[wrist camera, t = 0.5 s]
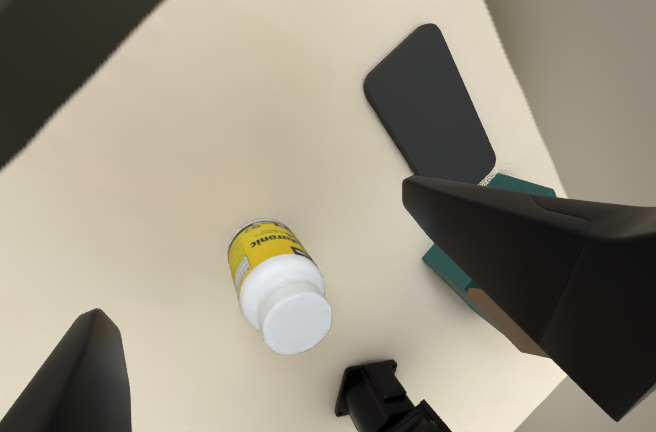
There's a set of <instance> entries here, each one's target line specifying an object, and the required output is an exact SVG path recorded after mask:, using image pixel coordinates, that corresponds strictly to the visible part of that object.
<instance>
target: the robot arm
mask: <svg viewBox="0 0 656 432" xmlns="http://www.w3.org/2000/svg"><path fill="white" fill-rule="evenodd" d="M402 201H403V205H404V207H405V208H406V210H407V211H408V212H409V213H410V214H411V216H412V217H413V218H414V219H415V221H416V222H417V223H418V224H419V226H420V227H421V228H422V229H423V230H424V232H425V233H426V234H427V235H428V236H429V238H430V239H431V240H432V241H433V242H434V243H435V244H436V245H437V246H438V247H439V248H440V249H441V250H442V251H443V252H444V253H445V254H446V255H447V256H448V257H449V258H450V259H451V260H452V261H453V262H454V263H455V264H456V265H457V266H458V267H459V268H460V269H461V270H462V271H463V272H464V273H465V274H466V275H467V276H468V277H469V278H470V279H471V280H472V281H473V282H474V283H475V284H476V285H477V286H478V287H479V288H480V289H481V290H482V291H483V292H484V293H485V294H486V295H487V296H488V297H489V298H490V299H491V300H493V301H494V302H495V303H496V304H497V305H498V306H499V307H500V308H501V309H502V310H503V311H504V312H505V313H506V314H507V315H508V316H509V317H510V318H511V319H512V320H513V321H514V322H515V323H516V324H517V325H518V326H519V327H520V328H521V329H522V330H523V331H524V332H525V333H526V334H527V335H528V336H529V337H530V338H531V339H532V340H533V341H534V342H535V343H536V344H537V345H539V347H540V348H541V349H542V350H543V351H544V352H545V353H546V354H547V355H548V356H549V357H550V358H551V359H552V360H553V361H554V362H555V363H556V364H557V365H558V366H559V367H560V368H561V369H562V370H563V371H564V372H565V373H566V374H567V375H568V376H569V377H570V378H571V379H572V380H573V381H574V382H575V383H576V384H577V385H578V386H579V387H580V388H581V389H582V390H583V391H584V392H585V393H586V394H587V395H588V396H589V397H590V398H591V399H593V401H594V402H595V403H596V404H597V405H598V406H600V407H601V408H602V409H603V410H604V411H605V412H606V413H607V414H608V415H609V416H610V417H611V418H612V419H613V420H615V421H616V422H619V421H620V420H621V419H622V418H623V417H624V416H626V415H627V414H628V413H629V412H630V411H631V410H632V409H634V408H635V407H636V406H637V405H638V404H639V403H641V402H642V401H643V400H644V399H645V398H646V397H648V396H649V395H650V394H651V393H652V392H653V391H654V390H656V207H638V206H628V205H619V204H610V203H599V202H591V201H582V200H573V199H565V198H558V197H551V196H544V195H538V194H532V193H531V194H529V193H525V192H519V191H512V190H506V189H500V188H493V187H487V186H481V185H475V184H468V183H462V182H456V181H449V180H443V179H437V178H430V177H424V176H418V175H413V176H411V177H408V178H406V179H404V180H403V182H402ZM396 368H397V363H396V362H395V361H394V360H391V361H385V362H379V363H373V364H367V365H361V366H355V367H349V368H347V369H346V370H345V373H344V377H343V381H342V385H341V389H340V392H339V396H338V400H337V404H336V408H335V414H336V416H337V417H340V416H345V415H350V417H351V419H352V421H353V423H354V425H355V427H356V429H357V431H358V432H452V431H451V430H450V429H449V428H448V427H447V425H446V424H445V423H444V422H443V421H442V420H441V418H440V417H439V416H438V415H437V414H436V412H435V411H434V410H433V409H432V408H431V407H430V405H429V404H428V403H427V402H426V401H425V400H424V399H423V400H422V401H421V402H420V404H418V405H417V406H416V407H415V406H414V405H413V403H412V402H411V400H410V399H409V398H408V396H407V395H406V393H407V392H406V391H405V389H404V388H403V386H402V385H401V384H400V382H399V381H398V379H397V378H396V377H395V375H394V374H395V371H396ZM0 432H132V426H131V398H130V386H129V379H128V374H127V368H126V362H125V356H124V350H123V345H122V339H121V334H120V331H119V329H118V327H117V326H116V325H115V324H114V323H113V322H112V320H111V319H110V318H109V317H108V316H107V315H106V314H105V313H104V312H103V311H102V310H101V309H98V308H96V309H93V310H91V311H88V312H86V313H84V314H81V315H80V316H79V317H78V318H77V319H76V320H75V322H74V323H73V324H72V326H71V327H70V328H69V330H68V331H67V332H66V334H65V335H64V337H63V338H62V339H61V341H60V342H59V343H58V345H57V346H56V347H55V349H54V350H53V351H52V353H51V354H50V355H49V357H48V358H47V359H46V361H45V362H44V364H43V365H42V366H41V368H40V369H39V370H38V372H37V373H36V374H35V376H34V377H33V378H32V380H31V381H30V382H29V384H28V385H27V387H26V388H25V389H24V391H23V392H22V393H21V395H20V396H19V397H18V399H17V400H16V401H15V403H14V404H13V405H12V407H11V408H10V409H9V411H8V412H7V414H6V415H5V416H4V418H3V419H2V420H1V422H0Z"/></svg>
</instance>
